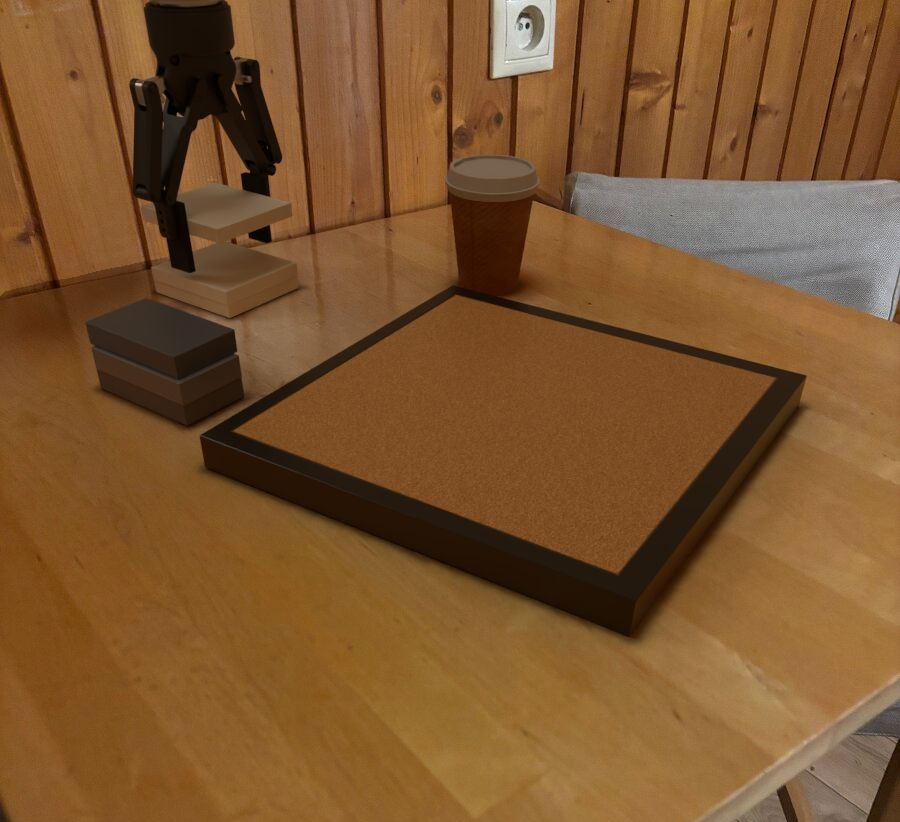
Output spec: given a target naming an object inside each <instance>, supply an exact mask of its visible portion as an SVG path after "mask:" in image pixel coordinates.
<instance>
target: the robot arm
mask: <svg viewBox="0 0 900 822" xmlns="http://www.w3.org/2000/svg"><path fill="white" fill-rule="evenodd" d="M144 4H145V5H144V7H143V14H144V19H145V20H144V21H145V26H146V32H147V38H148V43H149V47H150V49H151V51H152V52H153V54H154V56H155V58H156V71H155V75H154V76H152V77H148V78H145V79H141V78H137V77H135V78H134V77H132V78H131V79H130V80H129V82H128V83H129V84H128V87H129V91H130V97H131V100H132V104H133V154H132V195H133V196H134V198H136V199H139V200H143V201H147V202H150V203H153V204H154V206H155V210H156V216H157V221H158V225H157V226H158V231H159V234H160V236H161V237H162V238H164V239H166V244H167V245H166V246H167V251H168V256H169V260H170V262H171V267H172V268H175V269H178V270H181V271H184V272H187V273H192V272H195V271H196V270H195V264H194V258H193V247H192V241H191V235H190V234H189V229H188V223H187V215H186V209H185V203H183V202H179V201H176V200H177V195H178V194H179V190H180V186H181V181H182V178H183V177H182V176H183V174H184V173H183V172H184V168H185V165H186V164H185V163H186V159H187V155H188V151H189V146H190V142H191V136H192V133H193V132H195V131H196V129H197V127H198V123H199V121H200V120H201V121H202V120H204V119H206V118H208V117H209V116H214V117H215V118H216V119H217V121H218V122H219V124H220V126H221V127H222V129H223V131H224V133H225V134H226V136H227V138H228V140H229V141H230V143H231V145H232V146H233V148H234V150H235V151H236V153H237V155H238V156H239V158H240V160H241V161H242V163H243V165H244V167H245V168H246V169H247V170H248V171H249V172H247V171H245V172H242V173H240V181H241V188H242V189H241V190H245V191H249V192H253V193H257V194H260V195H264V196H268V197H272V196H271V188H270V187H271V186H270V179H269V177H273V176H275V175H276V172H277V166H276V165H275V164H277V165H279V164H281V162H282V161H283V153H282V150H281V147H280V143H279V140H278V137H277V133H276V131H275V128H274V123H273V120H272V118H271V114H270V111H269V107H268V103H267V101H266V97H265V95H264V92H263V88H262V82H261V81H262V80H261V66H260V65H261V64H260V63H259V60H257V59H253V58H248V57H241V56H235V57H234V58H233V56H232V53H231V51H232V50H233V48H234V47H235V45H236V44H235V43H236V41H235V40H236V39H235V30H234V25H233V24H234V23H233V16H232V7H231V5H230V4H229V2H228V1H226V0H148V1H147V2H146V3H144ZM233 86H234V87H235V92H236V94H235V93H234V91H233V89H232V88H233ZM163 95H164V96H163ZM236 95H237V96H236ZM163 104H164V105H163ZM178 114H179V115H180V116H178ZM247 234H248V235H247V236H248V239H250V240H254V241H258V242H260V243H264V244H269V243H272V242H273V238H272V229H271V225H268V226H265V227H263V228H260V229H257V230H255V231H252V232H249V233H247Z"/></svg>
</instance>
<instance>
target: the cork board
mask: <svg viewBox="0 0 900 822" xmlns="http://www.w3.org/2000/svg"><path fill="white" fill-rule="evenodd" d="M807 377H808V375H806V374H803V373H799V372H795V371H791V370H788V369H783V368H780V367H776V366H773V365H768V364H764V363H760V362H755V361H752V360H748V359H744V358H741V357H736V356H732V355H728V354H725V353H720V352H716V351H713V350H708V349H705V348H702V347H697V346H693V345H689V344H685V343H681V342H677V341H673V340H670V339H665V338H662V337H657V336H654V335H650V334H646V333H642V332H639V331H634V330H630V329H626V328H622V327H619V326H615V325H611V324H607V323H602V322H599V321H595V320H591V319H587V318H584V317H579V316H575V315H572V314H568V313H564V312H559V311H557V310H551V309H548V308H543V307H540V306H536V305H532V304H528V303H524V302H521V301H517V300H512V299H509V298H505V297H502V296H498V295H489V294H485V293H482V292H478V291H474V290H470V289H466V288H462V287H460V286H458V285H454V284H452V285H450V286H449V287H447V288H446V289H444V290H442V291H440V292H439V293H437V294H435V295H434V296H432V297H430V298H429V299H427V300H425V301H423V302H422V303H420V304H419V305H417V306H415V307H413V308H412V309H410V310H408V311H406V312H405V313H403V314H402V315H400V316H398V317H397V318H395V319H393V320H392V321H389V322H388V323H386V324H385V325H383V326H381V327H379V328H378V329H376V330H375V331H373V332H371V333H369V334H368V335H366V336H365V337H363V338H361V339H359V340H357V341H356V342H355V343H353V344H351V345H349V346H348V347H345V349H342V350H341V351H340V352H338V353H336V354H334V355H332V356H331V357H329V358H327V359H325V360H324V361H322V362H320V363H319V364H317V365H315V366H314V367H312V368H311V369H309V370H307V371H306V372H304V373H302V374H301V375H298V376H297V377H295V378H293V379H292V380H291V381H289V382H287V383H285V384H284V385H282V386H280V387H279V388H276V389H275V390H273V391H272V392H270V393H269V394H267V395H265V396H263V397H262V398H260V399H258V400H256V401H255V402H254V403H251V404H250V405H248V406H247V407H245V408H243V409H241V410H240V411H238V412H236V413H235V414H233V415H232V416H230V417H228V418H227V419H225V420H223V421H222V422H220V423H218V424H216V425H215V426H213V427H211V428H210V429H208V430H206V431H204V432H202V433H201V434H200V435H199V440H200V448H201V452H202V459H203V464H204V468H206V469H207V470H211V471H214V472H216V473H219V474H221V475H224V476H226V477H228V478H231V479H233V480H235V481H238V482H240V483H244V484H246V485H248V486H251V487H253V488H256V489H258V490H261V491H264V492H266V493H268V494H272V495H274V496H277V497H278V498H281V499H283V500H287V501H289V502H291V503H293V504H296V505H298V506H301V507H304V508H306V509H309V510H311V511H313V512H315V513H319V514H321V515H324V516H326V517H329V518H332V519H333V520H336V521H339V522H341V523H344V524H347V525H349V526H352V527H355V528H357V529H359V530H361V531H363V532H367V533H369V534H371V535H373V536H377V537H379V538H382V539H384V540H387V541H388V542H392V543H394V544H397V545H399V546H402V547H404V548H406V549H409V550H412V551H414V552H417V553H419V554H422V555H424V556H427V557H429V558H432V559H434V560H437V561H439V562H442V563H444V564H447V565H449V566H451V567H453V568H454V567H455V568H457V569H459V570H462V571H463V572H466V573H469V574H472V575H474V576H477V577H479V578H482V579H484V580H487V581H489V582H492V583H494V584H497V585H499V586H502V587H504V588H507V589H509V590H512V591H515V592H517V593H519V594H522V595H525V596H526V597H529V598H532V599H534V600H536V601H540V602H541V603H545V604H546V605H549V606H552V607H554V608H557V609H560V610H562V611H565V612H567V613H570V614H572V615H573V616H577V617H580V618H581V619H584V620H587V621H590V622H592V623H595V624H598V625H600V626H602V627H605V628H608V629H610V630H613V631H615V632H617V633H619V634H622V635H625V636H627V637H631V635H632V634H633V633H634V631H636V628H638V626H639V624H640V623H641V621H643V619H644V617H645V616H646V615H647V614H648V612H649V611H650V609H651V608H652V606H653V605H654V604H655V602H656V601H657V600H658V598H659V597H660V596H661V594H662V593H663V592H664V590H665V589H666V587H668V585H669V583H670V582H671V580H672V579H673V578H674V577H675V575H676V574H677V573H678V571H679V570H680V568H681V567H682V565H684V563H685V562H686V560H687V559H688V557H689V556H690V555H691V553H692V552H693V550H694V549H695V548H696V546H697V545H698V544H699V542H700V541H701V540H702V538H704V535H705V534H706V533H707V531H708V530H709V528H711V526H712V525H713V523H714V522H715V520H716V519H717V518H718V516H719V515H720V513H721V512H722V511H723V509H724V508H725V507H726V505H727V504H728V503H729V501H730V500H731V499H732V497H733V496H734V494H735V493H736V492H737V490H738V489H739V487H740V486H741V485H742V484H743V482H744V481H745V480H746V478H747V476H749V474H750V472H751V471H752V470H753V468H754V467H755V466H756V464H757V463H758V462H759V461H760V459H761V458H762V456H763V455H764V453H765V452H766V451H767V450H768V449H769V447H770V445H771V444H772V442H774V440H775V438H776V437H777V436H778V434H779V433H780V431H781V430H782V429H783V428H784V427H785V425H786V423H787V422H788V421H789V419H790V418H791V417H792V416H793V414H794V412H795V411H796V410H797V408H798V407H799V406H800V403H801V399H802V395H803V392H804V388H805V385H806V380H807Z"/></svg>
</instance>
